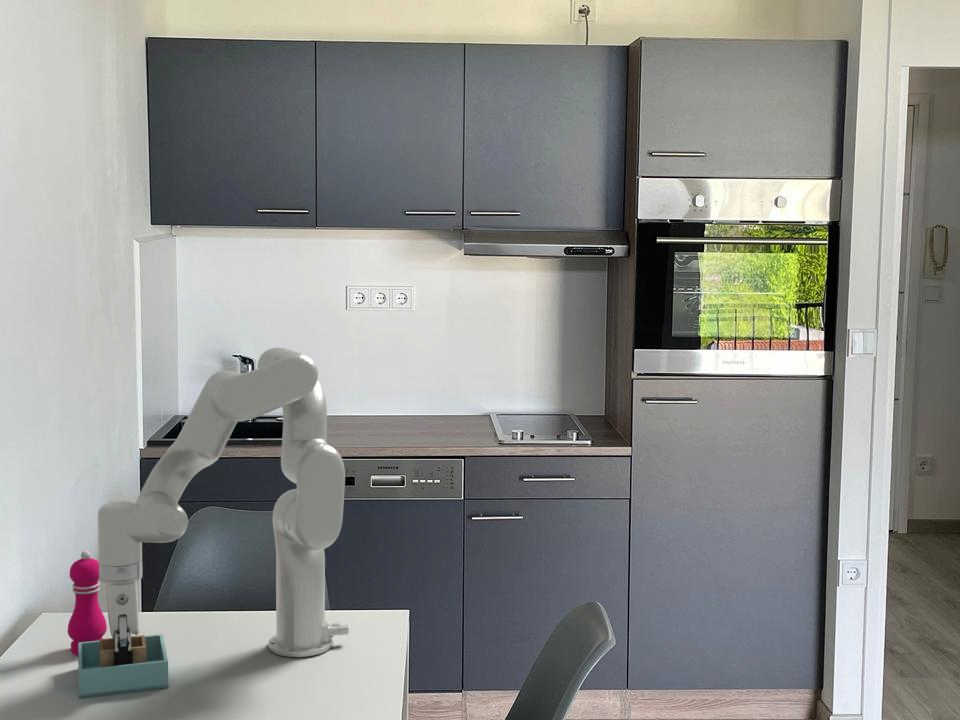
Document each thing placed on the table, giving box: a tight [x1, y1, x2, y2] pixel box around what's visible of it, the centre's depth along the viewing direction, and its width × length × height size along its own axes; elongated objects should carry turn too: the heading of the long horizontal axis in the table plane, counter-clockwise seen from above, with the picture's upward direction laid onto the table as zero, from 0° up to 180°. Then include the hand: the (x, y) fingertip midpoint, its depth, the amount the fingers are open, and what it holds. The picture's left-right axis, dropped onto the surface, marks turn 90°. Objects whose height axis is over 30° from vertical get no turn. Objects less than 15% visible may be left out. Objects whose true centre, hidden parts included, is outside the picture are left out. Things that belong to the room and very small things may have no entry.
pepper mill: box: [67, 550, 108, 657], centre depth 217 cm, size 7×7×20 cm
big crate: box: [77, 633, 169, 699], centre depth 205 cm, size 15×14×5 cm
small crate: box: [99, 634, 147, 667], centre depth 205 cm, size 8×6×6 cm
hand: (122, 662), depth 205 cm, fingers open, 7 cm apart
